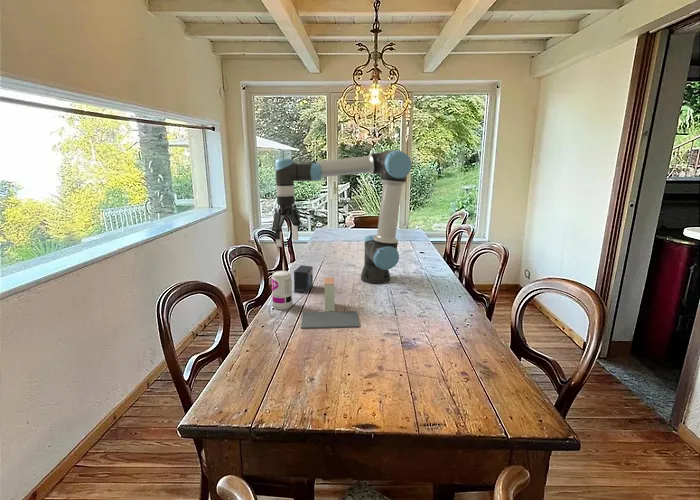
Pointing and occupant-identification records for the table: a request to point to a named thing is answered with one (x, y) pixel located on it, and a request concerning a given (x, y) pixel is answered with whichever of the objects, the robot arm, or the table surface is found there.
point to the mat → (329, 319)
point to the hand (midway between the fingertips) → (287, 243)
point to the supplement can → (281, 290)
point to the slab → (329, 294)
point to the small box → (303, 279)
